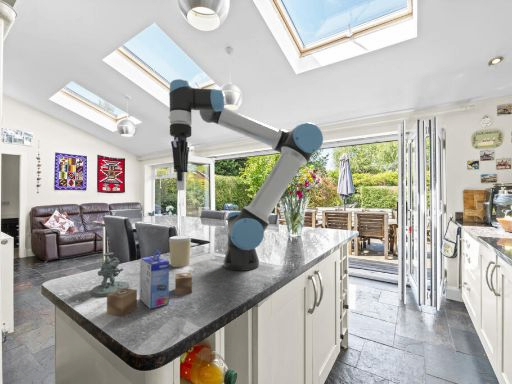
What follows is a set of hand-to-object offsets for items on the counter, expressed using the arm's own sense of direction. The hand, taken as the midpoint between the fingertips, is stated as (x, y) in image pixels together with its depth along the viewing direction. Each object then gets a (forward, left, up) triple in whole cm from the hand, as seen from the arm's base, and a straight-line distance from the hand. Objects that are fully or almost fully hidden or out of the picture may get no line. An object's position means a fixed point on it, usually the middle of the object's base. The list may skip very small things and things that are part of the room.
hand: (181, 190), depth 91 cm
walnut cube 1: (+8, +24, -33) cm, 41 cm away
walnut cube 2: (-4, +10, -33) cm, 34 cm away
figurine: (+20, +10, -33) cm, 40 cm away
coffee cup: (+7, -19, -33) cm, 38 cm away
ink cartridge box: (+2, +18, -33) cm, 37 cm away
